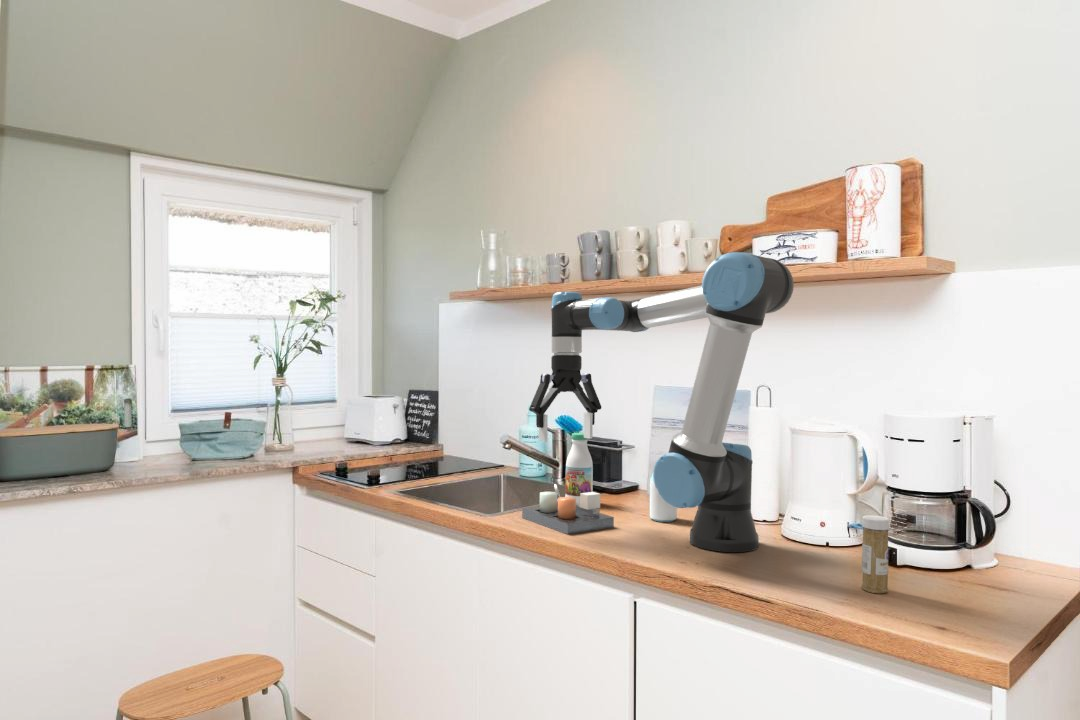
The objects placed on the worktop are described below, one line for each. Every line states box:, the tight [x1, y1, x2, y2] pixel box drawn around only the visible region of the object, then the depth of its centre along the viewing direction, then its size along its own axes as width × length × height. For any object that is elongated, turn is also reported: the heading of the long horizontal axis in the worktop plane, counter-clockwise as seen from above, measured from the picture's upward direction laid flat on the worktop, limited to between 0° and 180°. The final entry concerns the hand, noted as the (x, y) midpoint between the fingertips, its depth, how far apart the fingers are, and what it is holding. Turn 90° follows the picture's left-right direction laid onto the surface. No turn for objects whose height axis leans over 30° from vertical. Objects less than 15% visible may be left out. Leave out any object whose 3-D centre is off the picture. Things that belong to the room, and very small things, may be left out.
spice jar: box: [861, 514, 891, 594], centre depth 133 cm, size 5×5×14 cm
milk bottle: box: [564, 432, 594, 504], centre depth 206 cm, size 8×8×20 cm
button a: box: [558, 496, 576, 519], centre depth 178 cm, size 4×4×4 cm
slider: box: [580, 491, 601, 510], centre depth 181 cm, size 3×4×4 cm
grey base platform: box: [521, 483, 615, 535], centre depth 183 cm, size 21×14×8 cm
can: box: [648, 472, 678, 523], centre depth 188 cm, size 7×7×12 cm
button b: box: [539, 491, 557, 513], centre depth 185 cm, size 4×4×4 cm
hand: (565, 439), depth 181 cm, fingers open, 13 cm apart
